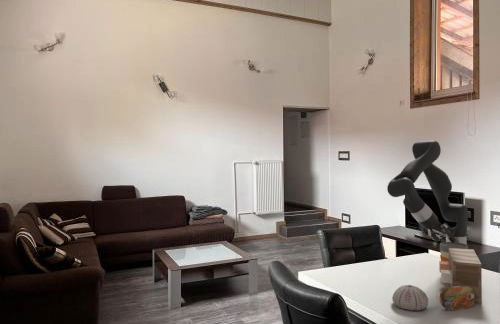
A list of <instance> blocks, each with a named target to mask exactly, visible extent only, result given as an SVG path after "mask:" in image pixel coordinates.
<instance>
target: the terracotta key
mask: <svg viewBox="0 0 500 324" xmlns="http://www.w3.org/2000/svg"><path fill="white" fill-rule="evenodd" d="M438 264H439V265H438V267H439V268H438V270H439V273H440V274H441V270H450V263H449V262H447V261H441V260H439V263H438Z"/></svg>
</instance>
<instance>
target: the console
mask: <svg viewBox="0 0 500 324" xmlns="http://www.w3.org/2000/svg"><path fill="white" fill-rule="evenodd" d="M449 263H450V270H452V283H448V285H449V287H454V286H460V285H465V286H469V287H471V288H473V289H474V291H475V294H476V300H475V303H474V304H477V305H482V304H483V301H482V300H483V299H482V297H483V295H482V291H483V290H482V286H483V284H482V283H483V282H482V277H483V276H482V275H483V274H482V270H483V269H482V267H483V266H482V262H481V260H480V259H479V257H478V255H477V254H476V252H475V249H471V248H470V249H469V248H468V249H458V248H449ZM474 304H473V305H474Z"/></svg>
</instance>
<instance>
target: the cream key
mask: <svg viewBox="0 0 500 324" xmlns="http://www.w3.org/2000/svg"><path fill="white" fill-rule="evenodd" d="M440 281H441V282H440V283H444V284H449V283H452V270H441V273H440Z"/></svg>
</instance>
